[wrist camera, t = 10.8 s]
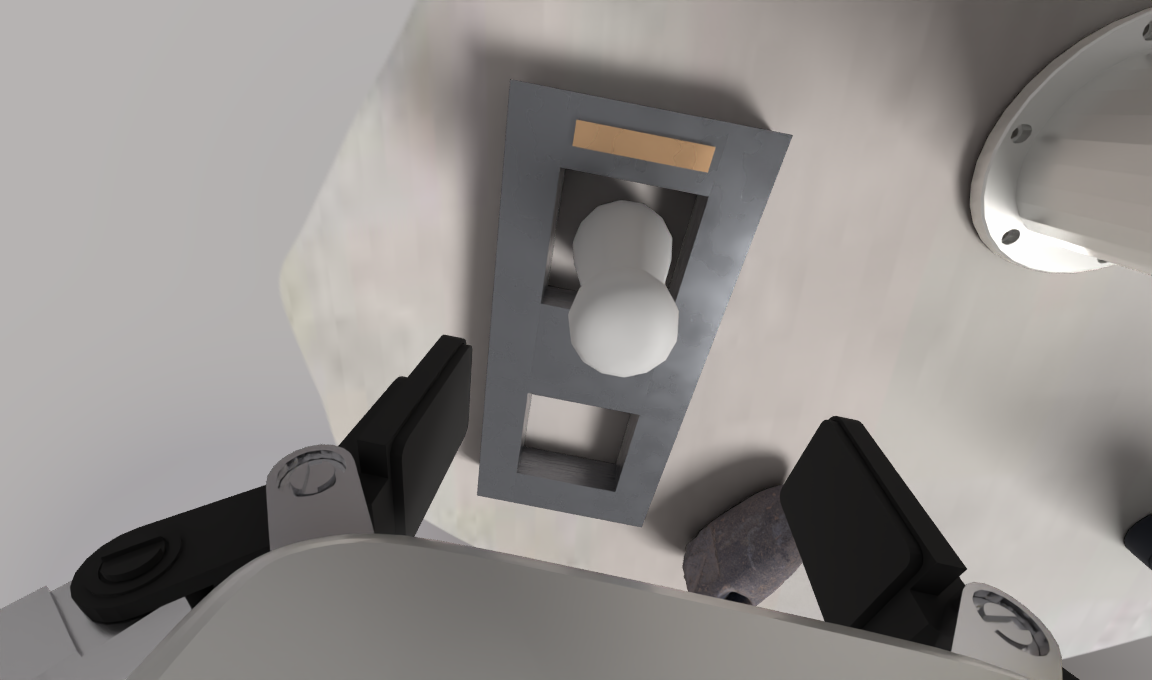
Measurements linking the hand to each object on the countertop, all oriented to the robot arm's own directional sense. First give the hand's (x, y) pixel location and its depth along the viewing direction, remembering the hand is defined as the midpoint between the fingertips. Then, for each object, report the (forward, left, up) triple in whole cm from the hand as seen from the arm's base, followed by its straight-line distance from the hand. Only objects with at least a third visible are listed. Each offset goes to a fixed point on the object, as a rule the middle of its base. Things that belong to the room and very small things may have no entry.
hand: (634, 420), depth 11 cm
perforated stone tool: (-16, +23, -18) cm, 33 cm away
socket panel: (0, +8, -18) cm, 19 cm away
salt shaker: (0, 0, -18) cm, 18 cm away
